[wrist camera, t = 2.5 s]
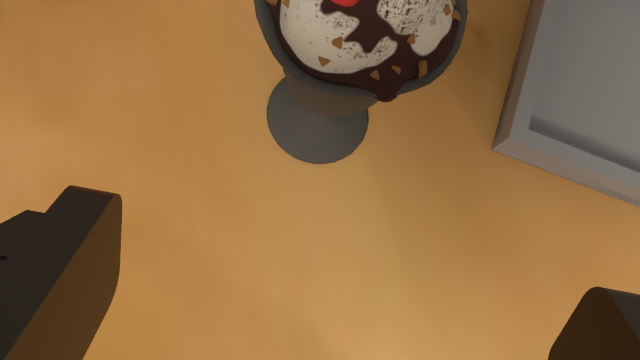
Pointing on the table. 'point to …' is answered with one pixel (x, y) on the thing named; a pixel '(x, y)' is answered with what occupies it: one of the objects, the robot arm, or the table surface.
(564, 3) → the tray
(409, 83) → the sundae
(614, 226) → the table surface
